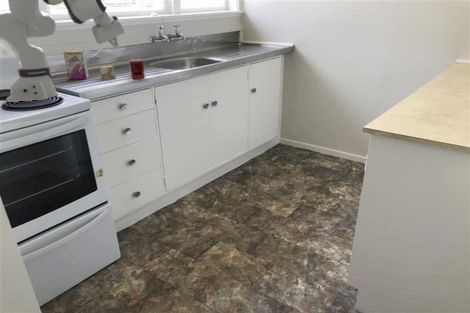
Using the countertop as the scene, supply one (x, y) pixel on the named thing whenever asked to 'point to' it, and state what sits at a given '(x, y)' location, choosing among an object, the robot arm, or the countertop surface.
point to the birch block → (107, 72)
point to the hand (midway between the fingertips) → (116, 46)
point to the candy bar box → (76, 64)
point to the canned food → (137, 68)
